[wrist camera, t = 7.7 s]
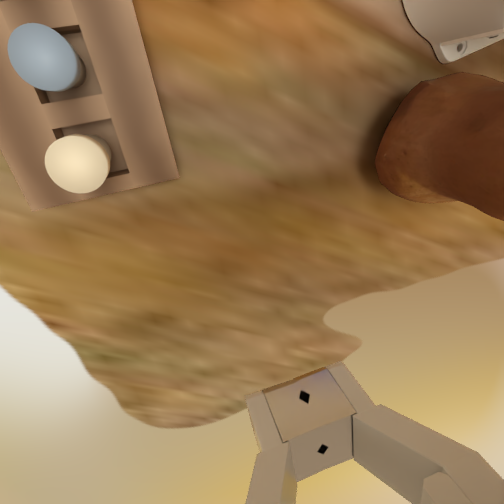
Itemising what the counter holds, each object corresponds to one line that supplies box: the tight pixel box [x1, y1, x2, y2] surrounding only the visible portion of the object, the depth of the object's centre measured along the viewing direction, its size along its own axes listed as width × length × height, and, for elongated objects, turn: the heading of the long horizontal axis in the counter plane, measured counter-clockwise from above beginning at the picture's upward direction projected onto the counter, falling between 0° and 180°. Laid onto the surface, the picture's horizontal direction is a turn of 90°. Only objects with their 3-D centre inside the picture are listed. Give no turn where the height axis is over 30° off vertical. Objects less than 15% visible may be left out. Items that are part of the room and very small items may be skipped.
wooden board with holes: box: [0, 0, 180, 212], centre depth 28 cm, size 14×22×4 cm, turn 10°
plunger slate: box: [8, 23, 86, 92], centre depth 25 cm, size 4×4×7 cm
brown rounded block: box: [375, 72, 504, 221], centre depth 31 cm, size 14×13×25 cm
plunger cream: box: [45, 134, 112, 194], centre depth 26 cm, size 4×4×7 cm
